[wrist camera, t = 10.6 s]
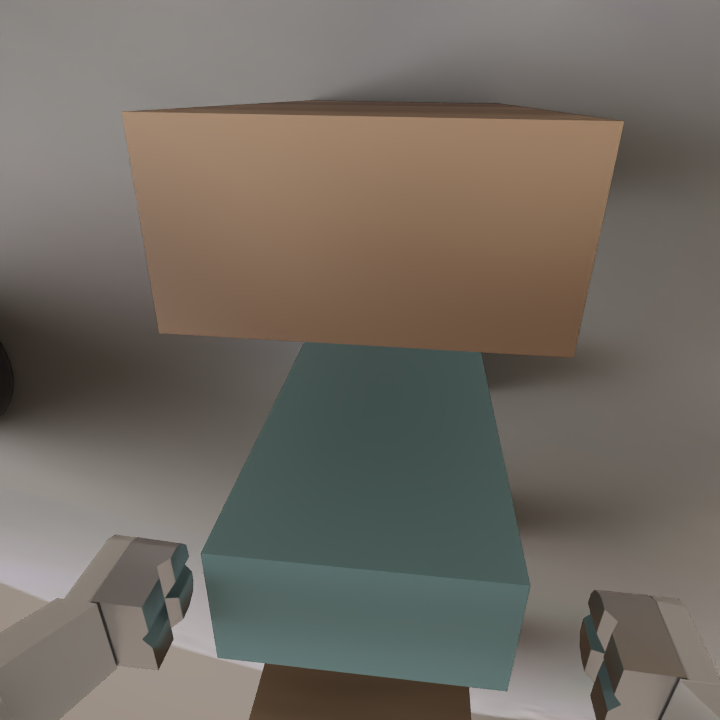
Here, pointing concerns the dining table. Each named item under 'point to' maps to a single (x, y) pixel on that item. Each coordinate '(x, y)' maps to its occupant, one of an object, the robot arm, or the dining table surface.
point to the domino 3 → (353, 697)
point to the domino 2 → (373, 524)
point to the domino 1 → (373, 221)
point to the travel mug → (5, 380)
